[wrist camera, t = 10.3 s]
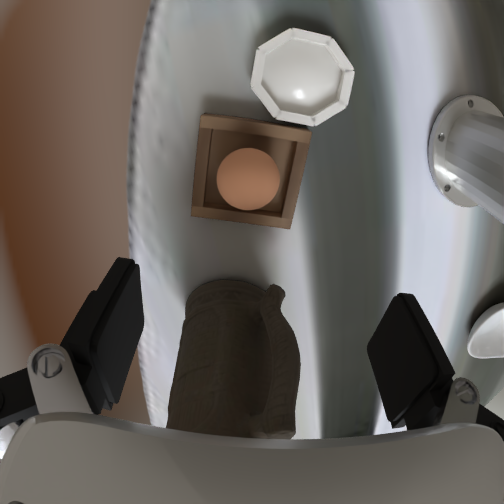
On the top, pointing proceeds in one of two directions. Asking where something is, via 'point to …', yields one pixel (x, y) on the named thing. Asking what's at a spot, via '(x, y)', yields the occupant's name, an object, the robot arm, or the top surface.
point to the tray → (258, 137)
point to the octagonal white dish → (302, 77)
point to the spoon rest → (488, 334)
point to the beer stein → (235, 364)
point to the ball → (248, 179)
